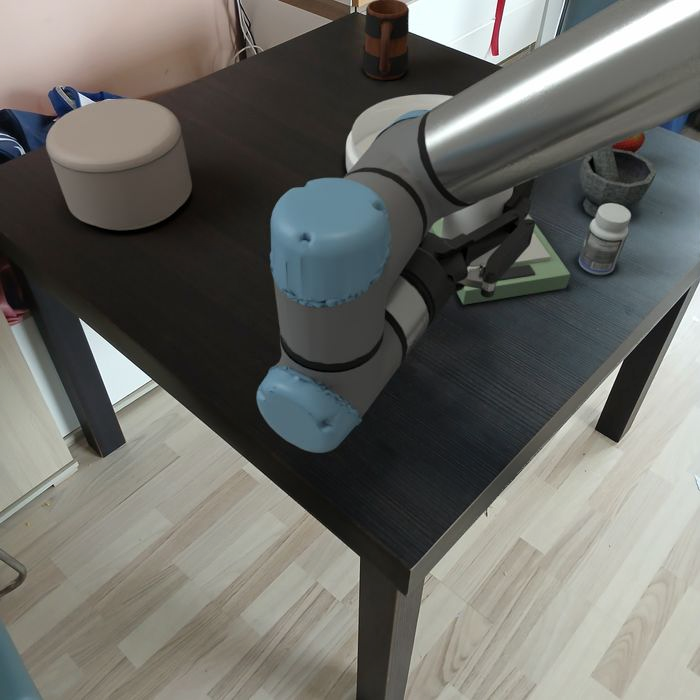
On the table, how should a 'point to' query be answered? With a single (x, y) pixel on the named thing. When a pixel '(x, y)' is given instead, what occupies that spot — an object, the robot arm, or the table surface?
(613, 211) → the pill bottle
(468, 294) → the kitchen scale
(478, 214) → the can
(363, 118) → the white round shallow dish
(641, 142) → the fruit
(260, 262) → the table surface
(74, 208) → the container
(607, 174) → the mortar and pestle
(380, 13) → the mug
